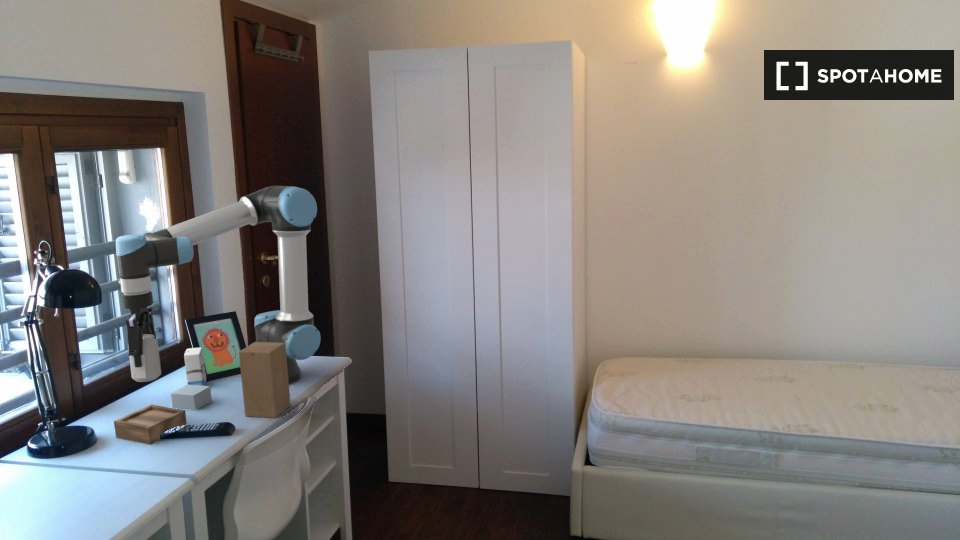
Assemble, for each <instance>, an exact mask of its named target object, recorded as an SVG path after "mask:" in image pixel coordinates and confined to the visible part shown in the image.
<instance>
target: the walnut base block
mask: <svg viewBox="0 0 960 540" xmlns="http://www.w3.org/2000/svg"><path fill="white" fill-rule="evenodd" d="M187 423H188V422H187V415H186V410H183V409H174V408H173V407H167V406H161V405H156V404H150V405H148V406H146V407H143V408H140V409H138V410H136V411H134V412H132V413H129V414H128V415H125V416H123V417H121V418H118V419H116V420H114V421H113V425H114V433H115V438H117V439H121V440H127V441H130V442H137V443H141V444H146V445H153V444H154V443H157V442H158V441H160V440H159V439H160V435H161V434H163V433H164V432H165V431H167V430H169V429H171V428H174V427H177V426H182V425H186V424H187ZM187 425H188V424H187Z"/></svg>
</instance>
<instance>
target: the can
mask: <svg viewBox="0 0 960 540" xmlns="http://www.w3.org/2000/svg"><path fill="white" fill-rule="evenodd" d="M154 337H155V336H154V335H152V334H143V354H144V357H145V365H146V374H147V377H146V378H135V369H134V361H133V356H129V355H128V357H129V358H128V359H129V365H130V373H131V374H130V375H131V376H130V377H131V379H132V380H134V381H135V382H137V383H138V382H139V383H147V382H152V381H155V380H156V379H158V378H159V377H160V376H161V375H162V368H161V359H160V351H159V341H158V339H157V338H156V339H155V338H154ZM127 350H128V352H129V347H128V346H127ZM135 351H136V350H135Z"/></svg>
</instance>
